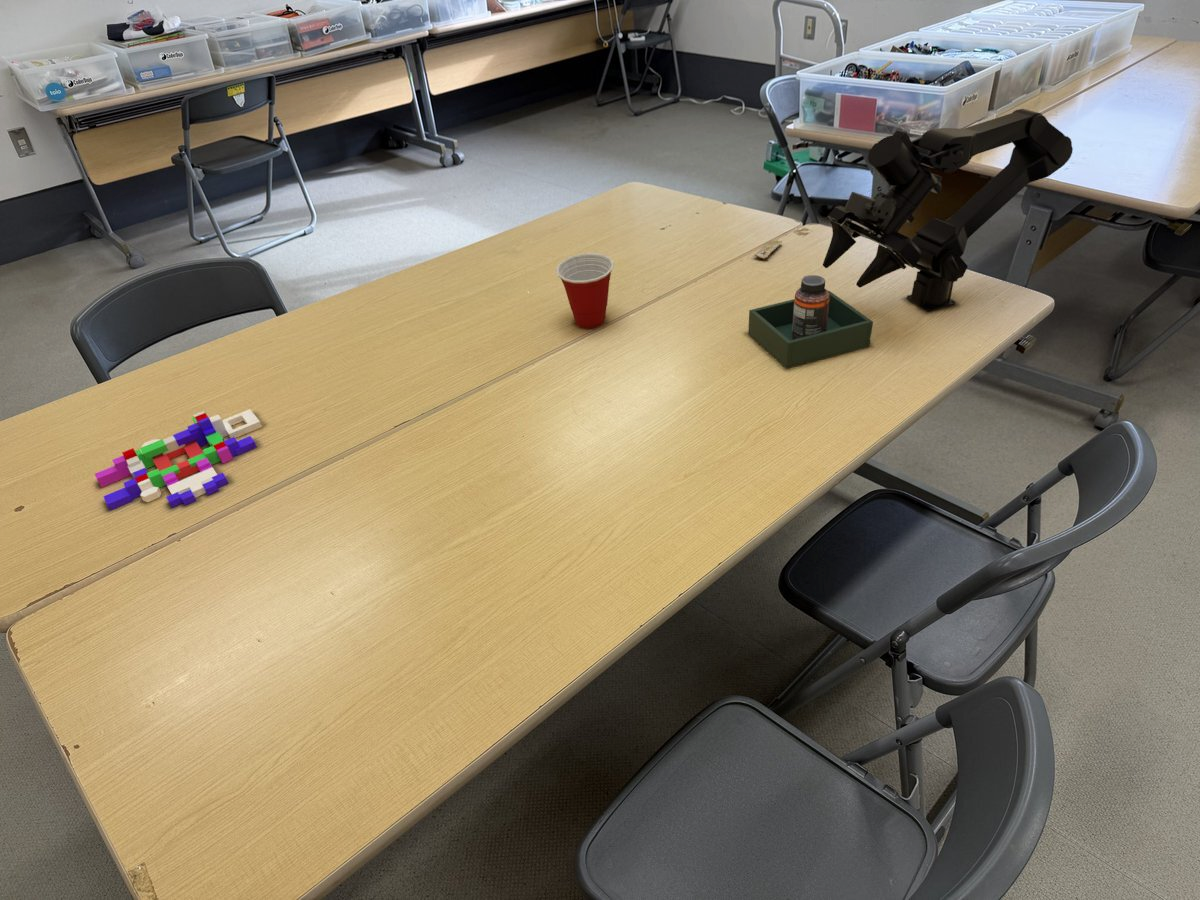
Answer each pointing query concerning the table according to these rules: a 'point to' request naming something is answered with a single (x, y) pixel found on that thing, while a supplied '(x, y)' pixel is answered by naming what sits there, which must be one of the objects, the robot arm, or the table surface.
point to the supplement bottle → (810, 307)
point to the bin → (840, 337)
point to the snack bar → (768, 249)
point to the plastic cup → (587, 287)
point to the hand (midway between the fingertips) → (840, 276)
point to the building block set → (170, 474)
